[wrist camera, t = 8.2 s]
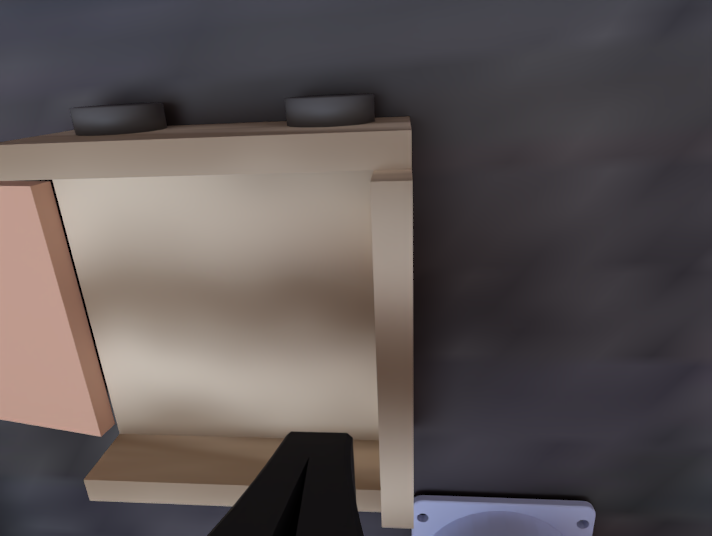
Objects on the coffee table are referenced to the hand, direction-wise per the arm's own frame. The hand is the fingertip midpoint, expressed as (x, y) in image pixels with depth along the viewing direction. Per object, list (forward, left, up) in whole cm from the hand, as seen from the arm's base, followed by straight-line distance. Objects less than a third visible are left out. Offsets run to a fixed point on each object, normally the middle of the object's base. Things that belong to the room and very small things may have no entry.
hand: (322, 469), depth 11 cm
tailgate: (0, +10, -7) cm, 12 cm away
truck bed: (0, +4, -9) cm, 10 cm away
